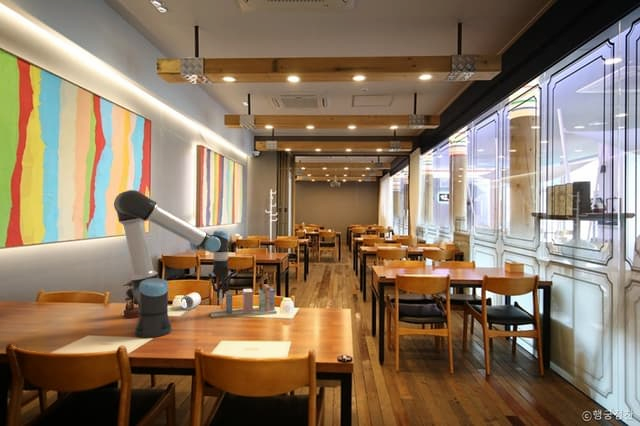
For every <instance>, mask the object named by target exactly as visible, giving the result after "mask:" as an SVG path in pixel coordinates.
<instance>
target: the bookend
mask: <svg viewBox="0 0 640 426" xmlns="http://www.w3.org/2000/svg"><path fill="white" fill-rule="evenodd" d="M232 309H233V293H232V291H230V290H229V291H228V290H227V291H225V310H226V314H232Z"/></svg>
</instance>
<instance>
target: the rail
mask: <svg viewBox="0 0 640 426" xmlns="http://www.w3.org/2000/svg"><path fill="white" fill-rule="evenodd" d="M275 294H276V293H275V289H274V288H273V287H271V286H270V285H269V284H263V289H259V290H258V307H253V313H244V311H243V308H232V314H226V309H217V310H216V309H215V310H210V318H211V319H217V318H218V319H219V318H230V317H232V318H234V317H247V316H258V315H259V314H263V315H273V314H274V315H275V314H276V313H278V311H277V310H276V308H275ZM259 316H260V315H259Z"/></svg>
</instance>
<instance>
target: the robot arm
mask: <svg viewBox="0 0 640 426" xmlns="http://www.w3.org/2000/svg"><path fill="white" fill-rule="evenodd" d="M113 207H114V210H115V211H116V214H117V218H118V222H119V223H120V224H122V225H123V229H124V233H125V234H124V235H125V239H126V244H127V248H128V253H129V258H130V261H131V262H130V263H131V266H132V267H131V268H132V271H133V275H132V277H131V278H130V279H131V280H130V281H132V285H133V286H132V288H133V295H134V297H135V298H136V299H137V300H138V301H139V318H137V319H138V320H137V321H136V325H135V328H134V336H135V337H138V338H146V339H148V338H158V337H162V336H166V335H168V334H170V333H171V332H172V329H173V328H172V327H173V326H172V323H171V320H170V317H169V314H168V309H169V308H168V307H169V305H168V304H169V298H168V297H169V296H168V295H169V285H168V284H169V283H168V280H166V279H164V278H160V277H159V274H158V273H159V272H157V271H155V270H154V265H153V261H152V256H151V253H150V252H151V251H150V247H149V242H148V238H147V237H148V236H147V232H146V228H145V222H149V221H150V222H151V223H153V224H155V225H157V226H159V227H160V228H162V229H164V230H166V231H168V232H170V233H171V234H173V235H176V236H177V237H179V238H181V239H184V240H185V241H187V242H189V246H190V249H191V250H192V251H206V252H208V253H213V269H212V271H211V272H209V273H208V277H209V278H210V282H211V286H212V289H213V292H215V293H216V298H217V299H218V301H219V303H218V305H219V306H221V305H223V298H225V293H226V292H228V290H229V287H230V283H231V279H232V276H233V275H234V273H233V272H232V271H231V270H229V261H228V259H229V233H228V231H226V230H215V231H213V233H212V234H209V233H208V232H206V231H204V230H202V229H200V228H198V227H197V226H195V225H193V224H191V223H189V222H188V221H185V219H182V218H181V217H178V216H177V215H175V214H173V213H172V212H169V211H167V210H166V209H164V208H162V207H161V206H159V205H158V203H157V202H156V201H154V200H153V199H152V198H150V197H148V196H146V195H145V194H144V193H142V192H140V191H138V190H136V189H135V190H134V189H131V190H130V189H129V190H125V191H122V192H121V193H119V194H118V195H117V196H116V197H115V199H114V203H113ZM227 275H228V278H227V279H226V280H227V281H226V286H225V277H227ZM213 276H215V277H216V285H215V281H214V280H215V279H214V277H213ZM220 279H221V280H220ZM220 281H221V285H220ZM220 286H221V290H220Z"/></svg>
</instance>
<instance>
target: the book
mask: <svg viewBox="0 0 640 426" xmlns="http://www.w3.org/2000/svg"><path fill="white" fill-rule="evenodd" d="M253 308H254V291H253V290H252V288H243V289H242V309H243V311H244V313H253Z"/></svg>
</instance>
